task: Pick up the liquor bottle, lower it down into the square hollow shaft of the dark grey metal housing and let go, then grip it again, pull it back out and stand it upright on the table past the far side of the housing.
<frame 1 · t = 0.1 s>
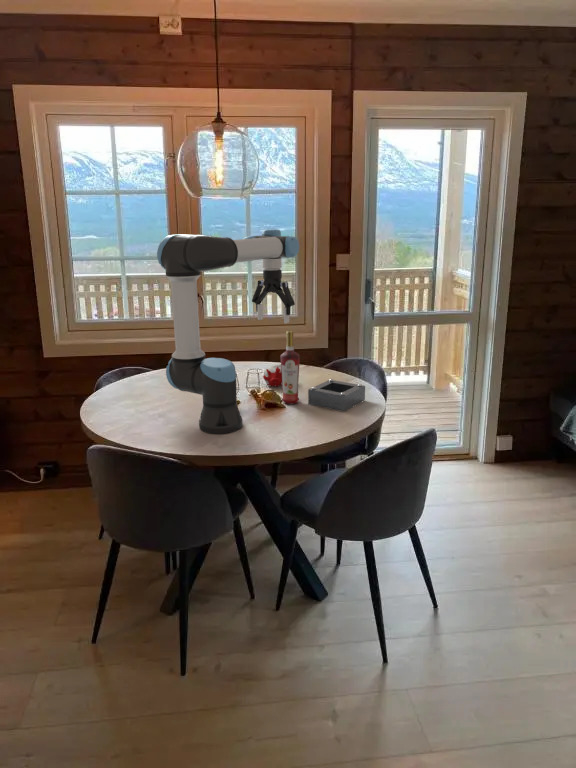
hand: (273, 321, 242), 28 cm above the table, fingers open, 13 cm apart
liquor: (290, 402, 229), on the table
housing: (336, 402, 228), on the table
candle: (276, 386, 251), on the table
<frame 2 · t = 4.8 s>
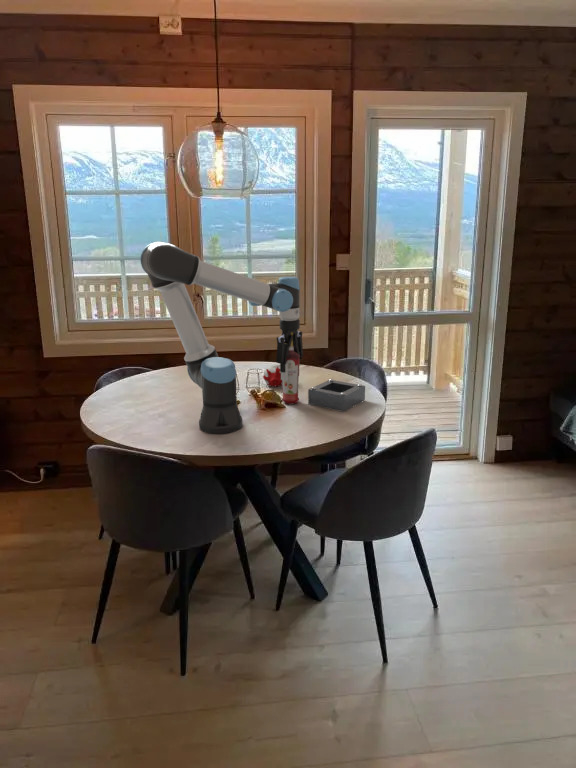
hand: (290, 377, 226), 10 cm above the table, fingers closed on liquor, 7 cm apart
liquor: (290, 402, 229), on the table, touching gripper
everything else where it was.
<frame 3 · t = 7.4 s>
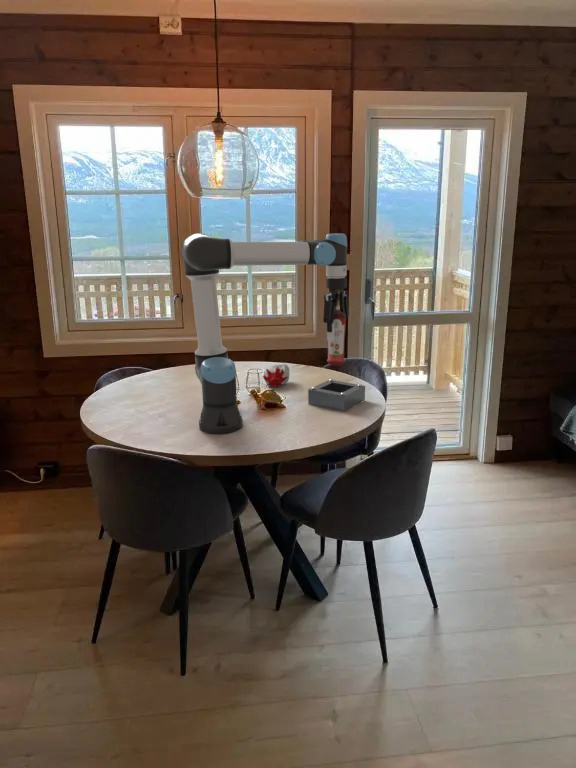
hand: (336, 338, 221), 25 cm above the table, fingers closed on liquor, 7 cm apart
liquor: (335, 364, 224), point 15 cm above the table, touching gripper
everything else where it was.
when the fingers open (11 cm above the table, at t = 10.4 s): liquor drops 1 cm, resting in housing.
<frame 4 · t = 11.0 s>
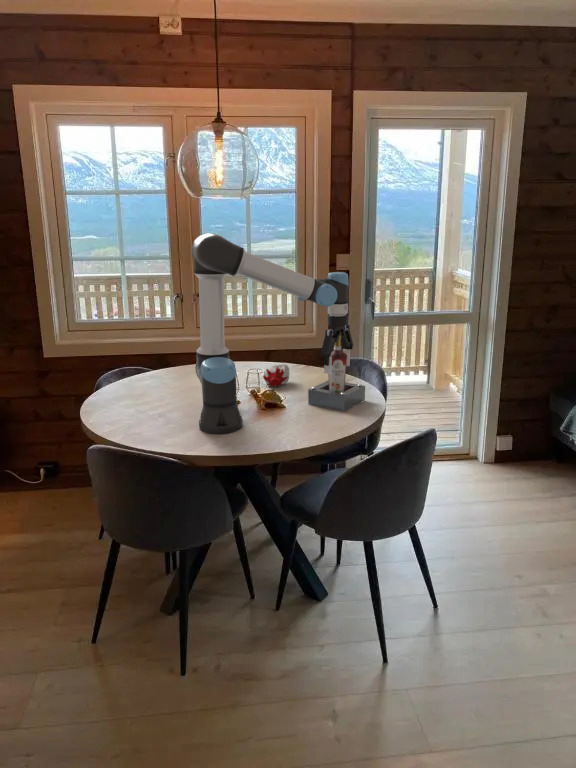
hand: (337, 369, 225), 13 cm above the table, fingers open, 13 cm apart
liquor: (336, 402, 228), resting in housing
everything else where it was.
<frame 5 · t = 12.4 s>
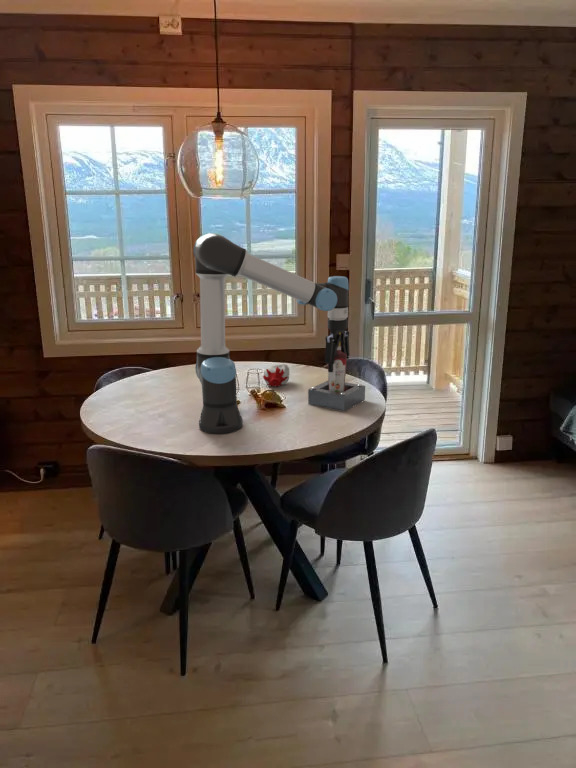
hand: (337, 377, 226), 10 cm above the table, fingers closed on liquor, 7 cm apart
liquor: (336, 402, 228), resting in housing, touching gripper
everything else where it was.
when the fingers open (12 cm above the table, at t = 19.4 s): liquor moves 1 cm, on the table.
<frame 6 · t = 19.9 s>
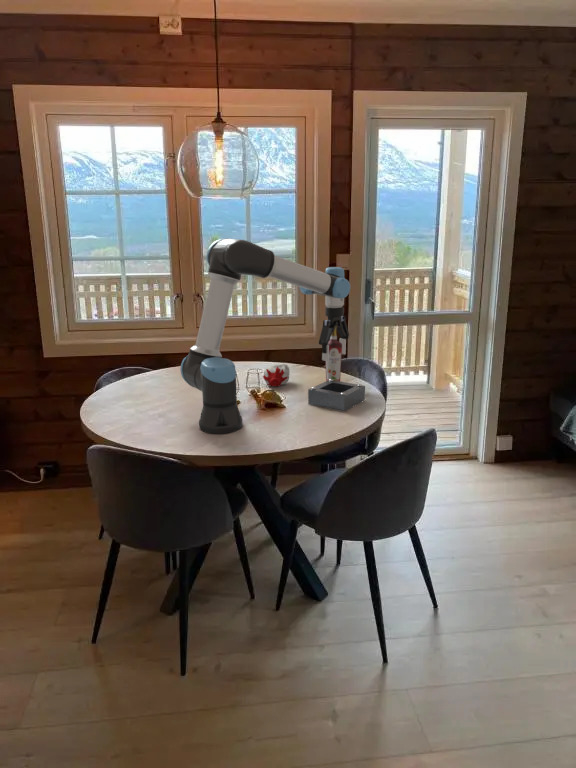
hand: (334, 357, 243), 13 cm above the table, fingers open, 13 cm apart
liquor: (333, 388, 247), on the table
everything else where it was.
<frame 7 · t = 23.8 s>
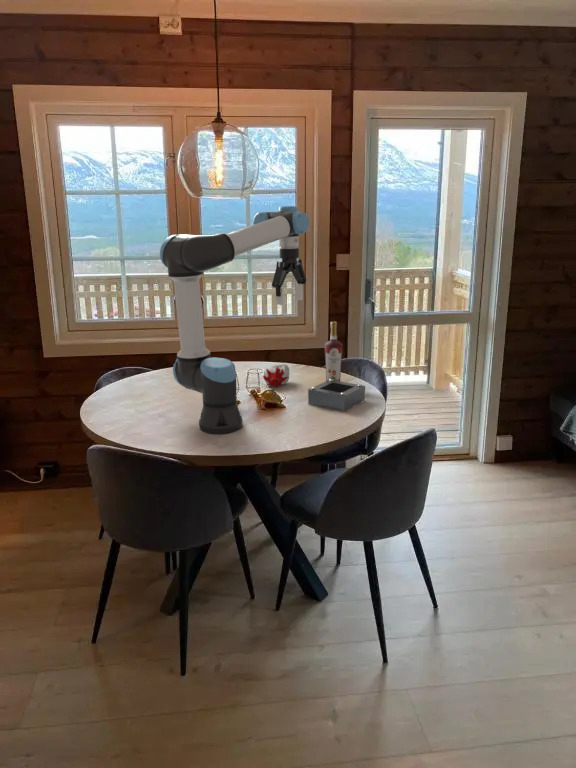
hand: (289, 302, 234), 37 cm above the table, fingers open, 13 cm apart
nothing on the table moved.
at the end: liquor inside the target area (0.6 cm from its centre), on the table; liquor tilted 0°; liquor touching table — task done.
